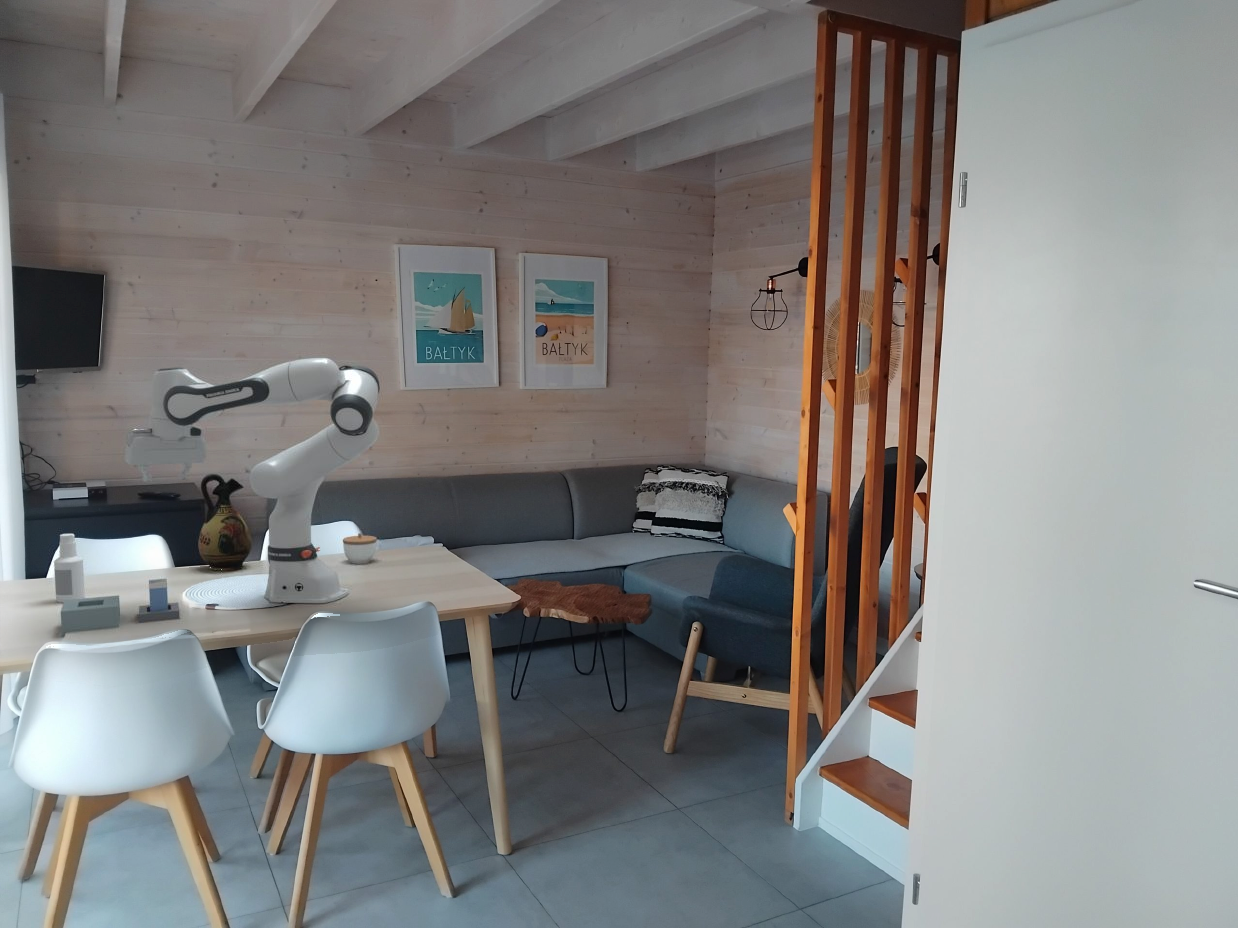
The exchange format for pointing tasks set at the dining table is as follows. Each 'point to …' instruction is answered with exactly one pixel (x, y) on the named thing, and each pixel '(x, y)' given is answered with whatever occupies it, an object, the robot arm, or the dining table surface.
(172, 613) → the holster
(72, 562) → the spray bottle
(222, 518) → the ceramic jug
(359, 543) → the lidded jar
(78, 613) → the port block
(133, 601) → the dining table surface
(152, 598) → the plug
